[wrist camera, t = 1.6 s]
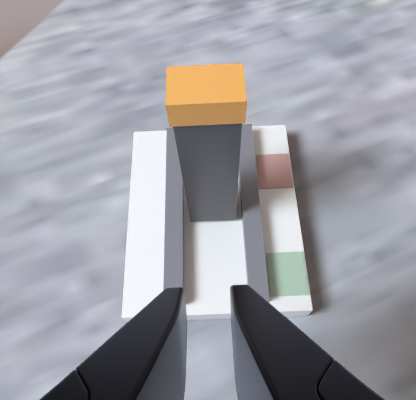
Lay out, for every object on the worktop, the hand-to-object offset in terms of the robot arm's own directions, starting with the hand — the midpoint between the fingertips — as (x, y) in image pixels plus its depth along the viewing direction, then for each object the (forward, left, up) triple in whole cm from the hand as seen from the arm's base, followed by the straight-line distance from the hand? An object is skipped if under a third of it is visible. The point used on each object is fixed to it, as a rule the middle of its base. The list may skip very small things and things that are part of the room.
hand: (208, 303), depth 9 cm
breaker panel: (+4, -7, -14) cm, 16 cm away
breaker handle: (+4, -7, -12) cm, 14 cm away
